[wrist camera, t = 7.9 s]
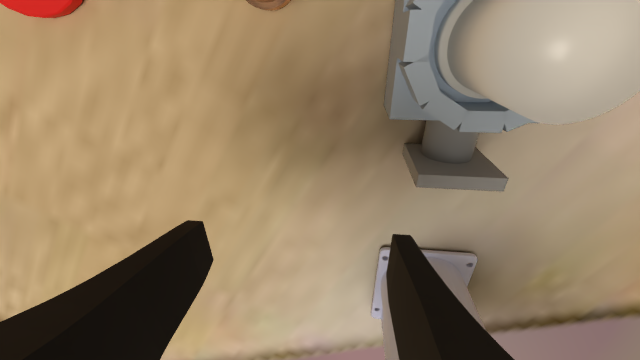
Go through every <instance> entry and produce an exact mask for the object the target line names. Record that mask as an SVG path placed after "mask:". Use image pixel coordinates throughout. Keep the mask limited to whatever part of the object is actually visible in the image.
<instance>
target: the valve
mask: <svg viewBox="0 0 640 360" xmlns="http://www.w3.org/2000/svg"><path fill="white" fill-rule="evenodd" d="M456 1H457V0H395V9H394V18H393V27H392V36H391V45H390V54H389V63H388V72H387V81H386V90H385V99H384V107H385V109H386V112H387V114H388V117H389V119H399V120H426V125H425V130H424V135H423V141H422V144H404V150H403V156H404V158H405V161H406V163H407V166H408V168H409V171H410V173H411V176H412V178H413V181H414V183H415V186H416V187H423V188H443V189H464V190H484V191H504V189H505V186H506V184H507V181H508V179H509V178H507V177H506V176H505V175H504V174H503V173H502V172H501V171H500V170H499V169H498V168H497V167H496V166H495V165H494V164H493V163H492V162H491V161H489V160H488V159H487V158H486V157H485V156H484V155H483V154H482V153H481V152H480V151H479V150H478V149H477V148H476V147H475V146H476V142H477V139H478V136H479V132H486V133H502V130H505V131H506V132H508V131H510V130H513V129H515V128H517V127H520V126H522V125H525V124H527V123H539V122H535V121H533V120H530V119H528V118H526V117H524V116H522V115H520V114H518V113H516V112H514V111H512V110H510V109H508V108H506V107H504V106H502V105H500V104H498V103H496V102H494V101H492V100H490V99H479V98H473V97H468V96H466V95H464V94H461V93H460V92H458V91H456V90H455V89H453V88H451V87H450V86H449V85H447V84H446V83H445V82H444V80H443V79H442V78H441V76H440V75H439V73H438V70H437V68H436V64H435V59H434V45H435V39H436V35H437V32H438V29H439V27H440V24H441V22H442V20H443V18H444V16H445V15H446V13H447V12H448V10H449V9H450V8H451V6H452V5H453V4H454V3H455V2H456Z"/></svg>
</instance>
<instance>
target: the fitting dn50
mask: <svg viewBox="0 0 640 360" xmlns="http://www.w3.org/2000/svg"><path fill="white" fill-rule="evenodd" d="M434 59H435V64H436V68H437V70H438V73H439V75H440V76H441V78H442V79H443V80H444V82H445V83H446V84H447V85H449V86H450V87H451V88H453V89H455V90H456V91H458V92H460V93H461V94H464V95H466V96H468V97H473V98H479V99H490V100H492V101H494V102H496V103H498V104H500V105H502V106H504V107H506V108H508V109H510V110H512V111H514V112H516V113H518V114H520V115H522V116H524V117H526V118H528V119H530V120H533V121H535V122H539V123H543V124H551V125H564V124H572V123H577V122H582V121H585V120H589V119H592V118H595V117H597V116H599V115H602V114H604V113H606V112H608V111H610V110H612V109H614V108H616V107H618V106H619V105H621V104H623V103H624V102H626V101H627V100H629V99H630V98H632V97H633V96H634V95H636V94H637V93H638V92H640V0H457V1H456V2H455V3H454V4H453V5H452V6H451V8H450V9H449V10H448V12H447V13H446V15H445V16H444V18H443V20H442V22H441V24H440V27H439V29H438V32H437V35H436V39H435V45H434Z"/></svg>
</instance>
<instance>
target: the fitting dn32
mask: <svg viewBox="0 0 640 360" xmlns="http://www.w3.org/2000/svg"><path fill="white" fill-rule="evenodd" d="M246 1H247V2H248V3H250V4H251V5H253V6H255V7H257V8H260V9H264V10H271V11H272V10H278V9H281V8H283V7H284V6H286V5H287V4H288V3H289V2H290V1H291V0H246Z"/></svg>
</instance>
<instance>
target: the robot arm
mask: <svg viewBox="0 0 640 360" xmlns="http://www.w3.org/2000/svg"><path fill="white" fill-rule="evenodd" d="M384 256H386V257H384ZM477 261H478V259H477V257H476V255H475V254H473V253H461V252H447V251H433V250H420V248H419V247H418V245H417V244H416V242H415V241H414V239H413V238H412V237H411V236H410V235H398V234H393V236H392V242H391V247H383V248H381V249H380V252H379V259H378V266H377V273H376V280H375V287H374V294H373V301H372V308H371V316H372V317H373V318H376V319H381V321H382V331H383V341H384V352H385V360H514V359H513V358H512V357H511V356H510V355H509V354H508V353H507V352H506V351H505V350H504V349H503V348H502V347H501V346H500V345H499V344H498V343H497V342H496V341H495V340H494V339H493V338H492V337H491V336H490V335H489V334H488V332H487V331H486V329H485V327H484V325H483V322H482V320H481V318H480V316H479V313H478V311H477V309H476V307H475V304H474V302H473V300H472V298H471V295H470V293H469V291H468V289H467V286H468V284H469V281H470V279H471V276H472V273H473V271H474V268H475V266H476V263H477ZM212 262H213V256H212V253H211V249H210V246H209V242H208V238H207V235H206V231H205V228H204V224H203V221H189V220H188V221H186V222H184V223H182V224H181V225H179V226H177V227H175V228H174V229H172V230H171V231H169V232H167V233H166V234H164V235H162V236H161V237H159V238H158V239H156V240H155V241H153V242H151V243H150V244H148V245H146V246H145V247H143V248H142V249H140V250H138V251H137V252H135V253H134V254H132V255H130V256H129V257H127V258H125V259H124V260H122V261H120V262H118V263H117V264H115V265H113V266H112V267H110V268H108V269H106V270H105V271H103V272H101V273H99V274H98V275H96V276H94V277H92V278H91V279H89V280H87V281H85V282H83V283H81V284H79V285H78V286H76V287H74V288H72V289H70V290H68V291H66V292H64V293H62V294H60V295H58V296H56V297H54V298H52V299H50V300H48V301H46V302H44V303H41V304H39V305H37V306H35V307H33V308H30V309H28V310H26V311H24V312H22V313H19V314H17V315H15V316H13V317H11V318H8V319H6V320H4V321H2V322H0V360H160V358H161V356H162V354H163V353H164V351H165V349H166V347H167V345H168V343H169V342H170V340H171V338H172V337H173V335H174V333H175V331H176V330H177V328H178V326H179V325H180V323H181V321H182V320H183V318H184V316H185V315H186V313H187V311H188V310H189V308H190V306H191V305H192V303H193V301H194V299H195V298H196V296H197V294H198V292H199V291H200V289H201V287H202V285H203V283H204V281H205V279H206V277H207V275H208V272H209V270H210V267H211V265H212ZM468 263H469V264H468Z"/></svg>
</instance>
